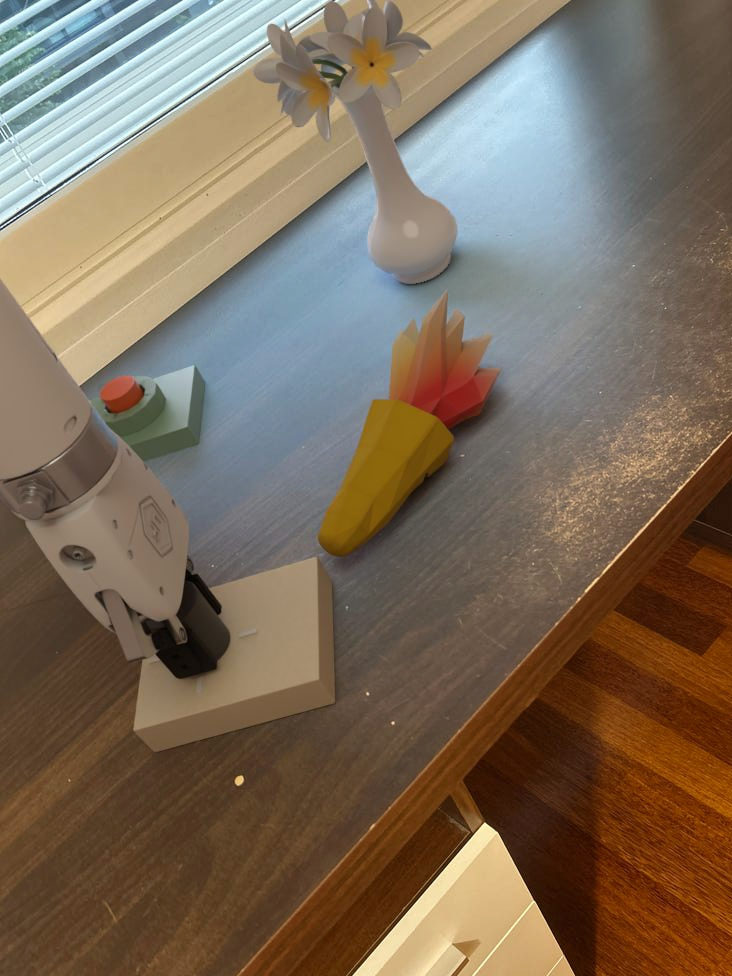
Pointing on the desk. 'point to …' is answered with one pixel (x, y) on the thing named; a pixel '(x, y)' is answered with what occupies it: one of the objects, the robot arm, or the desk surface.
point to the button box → (160, 414)
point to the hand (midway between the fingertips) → (199, 641)
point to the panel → (249, 661)
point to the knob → (199, 621)
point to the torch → (409, 425)
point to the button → (121, 394)
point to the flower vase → (366, 125)
